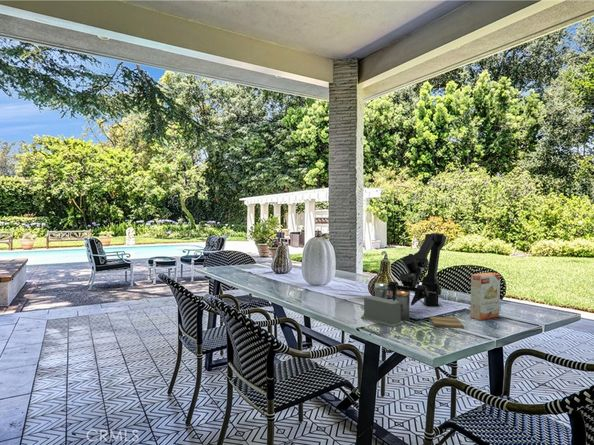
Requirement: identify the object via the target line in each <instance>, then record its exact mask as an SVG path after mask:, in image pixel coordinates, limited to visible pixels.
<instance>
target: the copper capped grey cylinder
mask: <svg viewBox="0 0 594 445" xmlns="http://www.w3.org/2000/svg"><path fill="white" fill-rule="evenodd" d="M410 296H411V291H408V290H401V289H400V290H396V300H395V301H398V302H401V321H409V320H410V313H411V311H410V305H411V302H410V298H411V297H410Z"/></svg>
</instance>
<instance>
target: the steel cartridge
mask: <svg viewBox="0 0 594 445" xmlns="http://www.w3.org/2000/svg"><path fill="white" fill-rule="evenodd" d="M374 290H375V292H374V293H375V294H374V296H375V297H380V298H384V299H388V283H386V282H375V283H374Z"/></svg>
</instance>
